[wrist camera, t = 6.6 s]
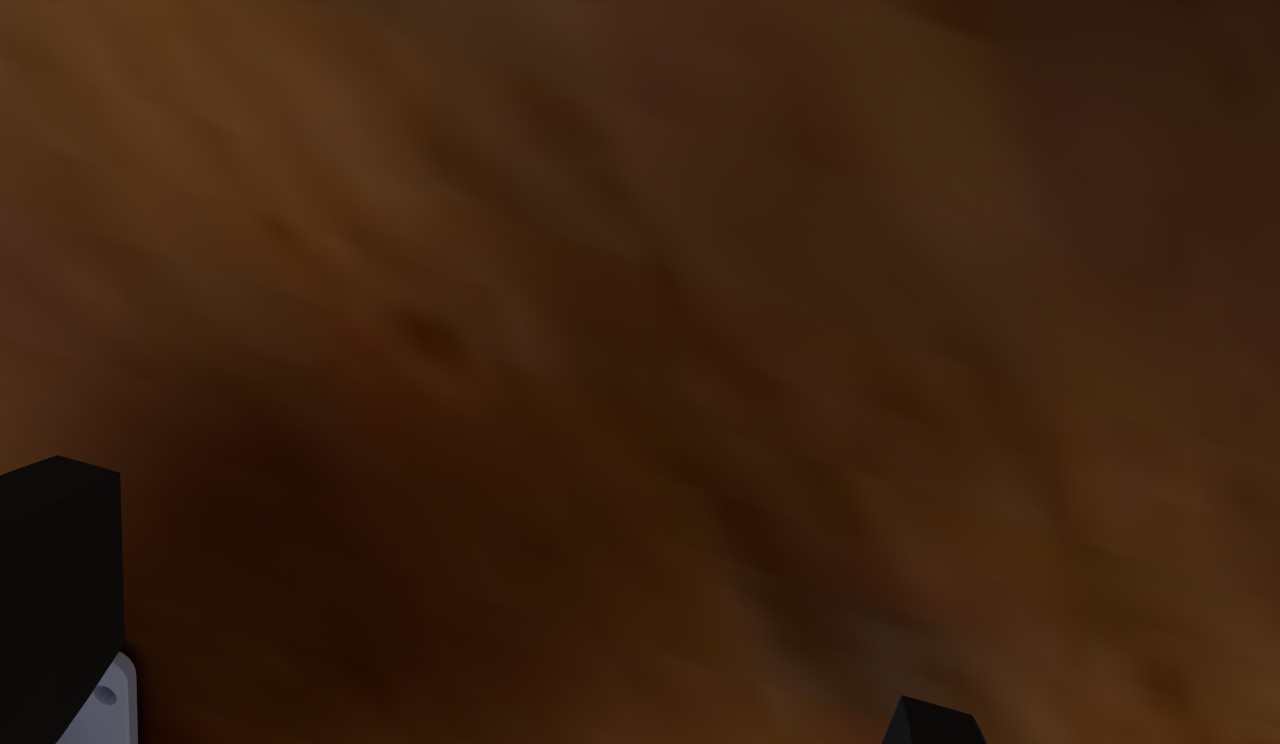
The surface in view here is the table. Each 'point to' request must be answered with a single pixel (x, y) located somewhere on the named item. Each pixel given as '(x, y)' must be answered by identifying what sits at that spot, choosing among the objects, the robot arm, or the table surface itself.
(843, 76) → the table surface
